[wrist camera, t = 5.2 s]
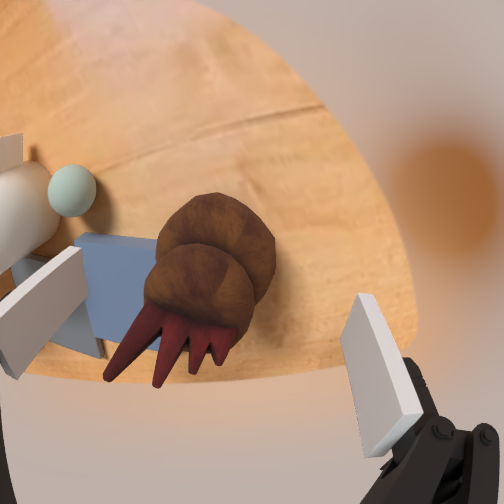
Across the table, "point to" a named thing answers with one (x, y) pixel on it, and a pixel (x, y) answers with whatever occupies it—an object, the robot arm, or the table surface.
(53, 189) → the ball
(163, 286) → the wooden figurine
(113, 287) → the book
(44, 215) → the mug
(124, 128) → the table surface
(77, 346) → the coaster
